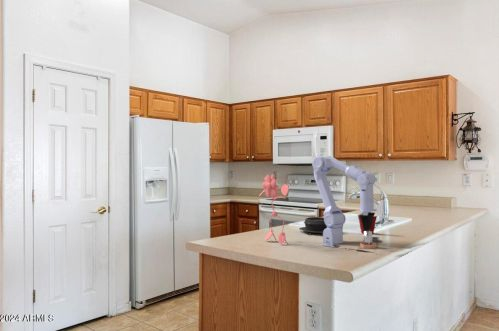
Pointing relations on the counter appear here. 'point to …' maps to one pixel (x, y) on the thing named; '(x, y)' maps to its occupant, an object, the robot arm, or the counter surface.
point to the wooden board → (365, 248)
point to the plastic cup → (371, 226)
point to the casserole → (314, 225)
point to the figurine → (271, 190)
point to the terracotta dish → (368, 246)
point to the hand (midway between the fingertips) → (367, 229)
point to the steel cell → (368, 237)
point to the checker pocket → (375, 239)
